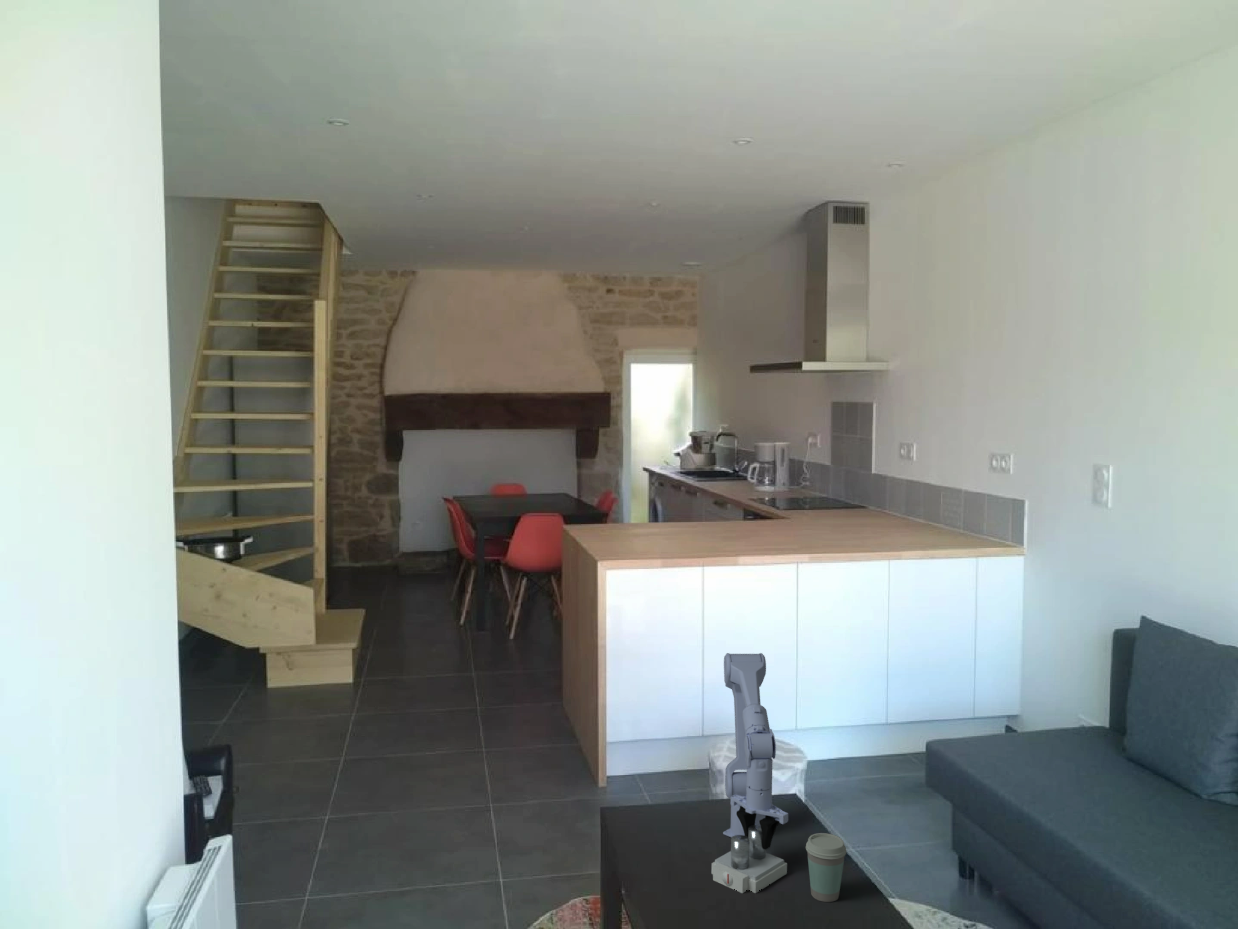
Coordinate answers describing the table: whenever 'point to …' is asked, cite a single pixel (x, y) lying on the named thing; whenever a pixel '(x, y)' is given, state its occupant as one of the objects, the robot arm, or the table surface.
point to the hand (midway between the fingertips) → (758, 844)
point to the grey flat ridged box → (748, 872)
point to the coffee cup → (825, 865)
